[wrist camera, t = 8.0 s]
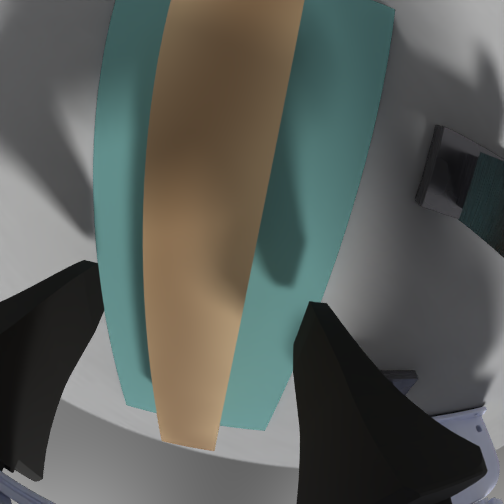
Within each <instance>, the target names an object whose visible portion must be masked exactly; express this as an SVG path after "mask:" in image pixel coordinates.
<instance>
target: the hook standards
mask: <svg viewBox="0 0 504 504" xmlns="http://www.w3.org/2000/svg"><path fill="white" fill-rule="evenodd" d="M415 202H416V203H418V204H419V205H420V206H421V207H424V208H427V209H430V210H433V211H436V212H439V213H443V214H446V215H449V216H452V217H454V218H457V219H459V220H460V221H461V222H462V223H463V224H465V225H466V226H467V227H468V228H470V229H471V230H472V231H473V232H475V233H476V234H477V235H478V236H480V237H481V238H482V239H483V240H484V241H485V242H487V243H488V244H489V245H490V246H491V247H492V248H494V249H495V250H496V251H497V252H498V253H499V254H500V255H501V256H503V257H504V159H502V158H501V157H499V156H498V155H496V154H494V153H493V152H491V151H489V150H488V149H486V148H484V147H482V146H481V145H479V144H477V143H475V142H474V141H472V140H470V139H468V138H466V137H464V136H462V135H460V134H459V133H457V132H455V131H453V130H451V129H449V128H446V127H444V126H440V125H436V127H435V131H434V136H433V140H432V144H431V148H430V151H429V155H428V159H427V162H426V166H425V169H424V173H423V176H422V179H421V183H420V186H419V189H418V192H417V195H416V198H415ZM381 373H382V374H383V375H384V376H385V377H386V378H387V379H388V380H389V381H390V382H391V383H392V384H393V385H394V386H395V387H396V388H397V389H398V390H399V391H400V392H401V393H402V394H404V395H405V394H406V393H407V392H408V391H409V390H410V388H411V387H412V386H413V385H414V383H415V382H416V381H417V380H418V376H417V374H416V372H415V371H381Z"/></svg>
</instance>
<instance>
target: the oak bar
mask: <svg viewBox="0 0 504 504" xmlns="http://www.w3.org/2000/svg"><path fill="white" fill-rule="evenodd" d="M303 5H304V0H171V2H170V6H169V10H168V14H167V18H166V23H165V27H164V32H163V37H162V42H161V47H160V52H159V57H158V63H157V69H156V75H155V81H154V88H153V95H152V102H151V110H150V119H149V128H148V138H147V149H146V162H145V178H144V200H143V279H144V301H145V317H146V330H147V341H148V351H149V361H150V369H151V377H152V385H153V392H154V399H155V405H156V412H157V418H158V423H159V429H160V434H161V439H162V441H164V442H168V443H173V444H177V445H182V446H187V447H193V448H198V449H204V450H211V451H214V450H215V445H216V440H217V435H218V430H219V426H220V421H221V416H222V411H223V406H224V401H225V396H226V391H227V386H228V382H229V377H230V372H231V367H232V362H233V357H234V352H235V347H236V342H237V337H238V332H239V327H240V323H241V318H242V313H243V308H244V303H245V298H246V293H247V288H248V283H249V278H250V273H251V268H252V263H253V258H254V253H255V248H256V243H257V238H258V233H259V228H260V223H261V218H262V213H263V208H264V203H265V198H266V193H267V188H268V183H269V178H270V173H271V168H272V163H273V158H274V153H275V148H276V143H277V138H278V133H279V128H280V123H281V118H282V113H283V107H284V102H285V97H286V92H287V87H288V82H289V77H290V72H291V67H292V62H293V57H294V51H295V46H296V41H297V36H298V31H299V26H300V21H301V16H302V10H303Z"/></svg>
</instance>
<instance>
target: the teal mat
mask: <svg viewBox="0 0 504 504" xmlns="http://www.w3.org/2000/svg"><path fill="white" fill-rule="evenodd" d="M170 2H171V0H116V1H115V5H114V8H113V12H112V16H111V21H110V25H109V29H108V34H107V39H106V44H105V49H104V55H103V61H102V67H101V74H100V81H99V89H98V97H97V107H96V119H95V133H94V157H93V198H94V222H95V237H96V249H97V259H98V266H99V274H100V282H101V290H102V296H103V303H104V310H105V316H106V322H107V327H108V332H109V337H110V342H111V347H112V351H113V356H114V360H115V364H116V368H117V372H118V376H119V380H120V384H121V387H122V391H123V394H124V398H125V401H126V405H128V406H132V407H135V408H139V409H143V410H146V411H150V412H154V413H157V412H156V405H155V399H154V392H153V385H152V377H151V369H150V361H149V351H148V341H147V330H146V317H145V301H144V279H143V200H144V178H145V162H146V149H147V138H148V128H149V119H150V110H151V102H152V95H153V88H154V81H155V75H156V69H157V63H158V57H159V52H160V47H161V42H162V37H163V32H164V27H165V23H166V18H167V14H168V10H169V6H170ZM394 15H395V9H393V8H390V7H388V6H385V5H383V4H380V3H378V2H375V1H372V0H304V5H303V10H302V16H301V21H300V26H299V31H298V36H297V41H296V46H295V51H294V57H293V62H292V67H291V72H290V77H289V82H288V87H287V92H286V97H285V102H284V107H283V113H282V118H281V123H280V128H279V133H278V138H277V143H276V148H275V153H274V158H273V163H272V168H271V173H270V178H269V183H268V188H267V193H266V198H265V203H264V208H263V213H262V218H261V223H260V228H259V233H258V238H257V243H256V248H255V253H254V258H253V263H252V268H251V273H250V278H249V283H248V288H247V293H246V298H245V303H244V308H243V313H242V318H241V323H240V327H239V332H238V337H237V342H236V347H235V352H234V357H233V362H232V367H231V372H230V377H229V382H228V386H227V391H226V396H225V401H224V406H223V411H222V416H221V421H220V426H227V427H235V428H243V429H252V430H263V431H265V429H266V427H267V425H268V423H269V421H270V419H271V417H272V415H273V413H274V411H275V408H276V406H277V404H278V402H279V400H280V398H281V396H282V393H283V391H284V389H285V387H286V385H287V382H288V380H289V378H290V376H291V373H292V371H293V344H294V341H295V339H296V336H297V333H298V331H299V328H300V325H301V323H302V320H303V317H304V314H305V312H306V309H307V306H308V303H309V301H313V302H321V300H322V297H323V294H324V292H325V289H326V286H327V283H328V281H329V278H330V275H331V272H332V269H333V266H334V264H335V261H336V258H337V255H338V252H339V249H340V246H341V243H342V240H343V237H344V234H345V230H346V227H347V224H348V221H349V218H350V215H351V211H352V208H353V205H354V201H355V198H356V194H357V191H358V187H359V184H360V180H361V177H362V173H363V169H364V166H365V162H366V158H367V154H368V150H369V146H370V142H371V138H372V134H373V130H374V126H375V121H376V117H377V113H378V108H379V103H380V99H381V94H382V89H383V84H384V79H385V73H386V68H387V62H388V56H389V50H390V44H391V37H392V30H393V23H394Z"/></svg>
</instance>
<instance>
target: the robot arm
mask: <svg viewBox="0 0 504 504" xmlns="http://www.w3.org/2000/svg"><path fill="white" fill-rule="evenodd" d="M103 312H104V303H103V296H102V290H101V282H100V274H99V266H98V263H95V262H90V261H86V260H83V261H81V262H78V263H76V264H74V265H72V266H70V267H68V268H66V269H64V270H62V271H60V272H58V273H56V274H54V275H52V276H51V277H49V278H47V279H45V280H43V281H41V282H39V283H38V284H36V285H34V286H32V287H30V288H28V289H26V290H24V291H22V292H20V293H18V294H16V295H14V296H12V297H10V298H8V299H6V300H4V301H1V302H0V504H12V503H11V499H13V500H14V501H16V502H17V503H19V504H55V503H53V502H51V501H49V500H48V499H46V498H44V497H42V496H40V495H38V494H36V493H35V492H33V491H31V490H30V489H28V488H26V487H25V486H23V485H21V484H20V483H18V482H17V481H15V480H13V479H12V478H10V477H9V476H7V475H6V474H4V473H3V472H2V470H3V468H6V469H7V470H9V471H10V472H12V473H13V472H14V470H16V471H18V472H19V473H21V474H23V475H24V476H26V477H27V478H29V479H31V480H33V481H40V480H42V479H43V470H44V462H45V454H46V448H47V444H48V439H49V435H50V430H51V427H52V423H53V420H54V416H55V413H56V410H57V406H58V404H59V401H60V398H61V395H62V393H63V390H64V388H65V385H66V383H67V381H68V379H69V377H70V375H71V373H72V372H73V370H74V368H75V366H76V364H77V363H78V361H79V359H80V357H81V356H82V354H83V352H84V350H85V349H86V347H87V345H88V343H89V342H90V340H91V338H92V336H93V335H94V333H95V331H96V328H97V326H98V324H99V321H100V319H101V317H102V314H103ZM293 375H294V384H295V392H296V401H297V409H298V418H299V427H300V464H299V483H298V495H297V504H473V503H474V504H503V502H502V500H501V499H496V498H495V497H494V498H492V499H490V500H489V501H488V498H484V497H485V496H487V495H488V494H489V493H490V491H492V489H493V488H494V487H495V485H496V483H497V481H498V477H499V471H500V465H499V460H498V457H497V454H496V451H495V448H494V446H493V443H492V440H491V438H490V435H489V433H488V430H487V428H486V426H485V423H484V421H483V419H482V415H483V414H484V413H485V412H486V410H487V409H486V407H480V408H476V409H472V410H467V411H462V412H457V413H452V414H446V415H441V416H435V417H430V416H429V415H428V414H426V413H425V412H424V411H422V410H421V409H420V408H419V407H418V406H416V405H415V404H414V403H413V402H411V401H410V400H409V399H408V398H407V397H406V396H405V395H404V394H402V393H401V392H400V391H399V390H398V389H397V388H396V387H395V386H394V385H393V384H392V383H391V382H390V381H389V380H388V379H387V378H386V377H385V376H384V375H383V374H382V373H381V371H380V370H379V369H378V368H377V367H376V366H375V365H374V363H373V362H372V361H371V360H370V359H369V358H368V356H367V355H366V354H365V353H364V352H363V350H362V349H361V348H360V347H359V345H358V344H357V343H356V341H355V340H354V339H353V338H352V336H351V335H350V334H349V332H348V331H347V330H346V328H345V327H344V326H343V324H342V323H341V322H340V320H339V319H338V318H337V316H336V315H335V313H334V312H333V311H332V309H331V308H330V307H329V306H328V304H327V303H320V302H313V301H309V303H308V306H307V309H306V312H305V314H304V317H303V320H302V323H301V325H300V328H299V331H298V333H297V336H296V339H295V341H294V344H293ZM10 498H11V499H10ZM482 498H484V499H482ZM481 499H482V500H481ZM479 500H480V501H479ZM477 501H478V502H477ZM475 502H476V503H475Z"/></svg>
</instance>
